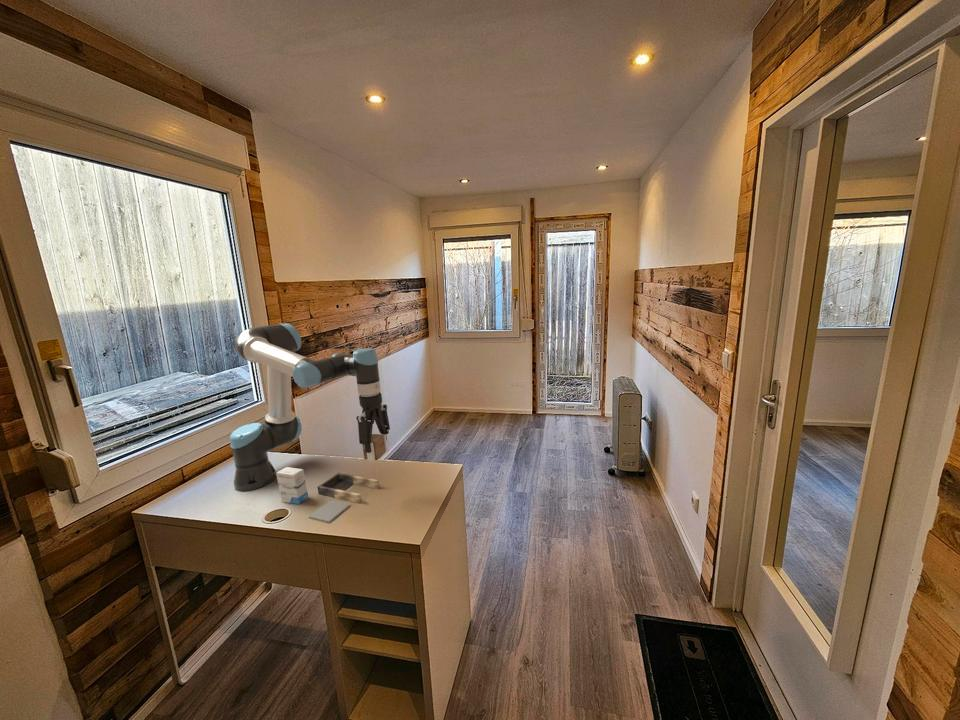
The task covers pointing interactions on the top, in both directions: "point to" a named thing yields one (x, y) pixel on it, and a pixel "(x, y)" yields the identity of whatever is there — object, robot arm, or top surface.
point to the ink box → (292, 485)
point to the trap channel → (345, 486)
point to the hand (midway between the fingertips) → (377, 455)
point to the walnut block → (376, 446)
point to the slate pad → (329, 511)
